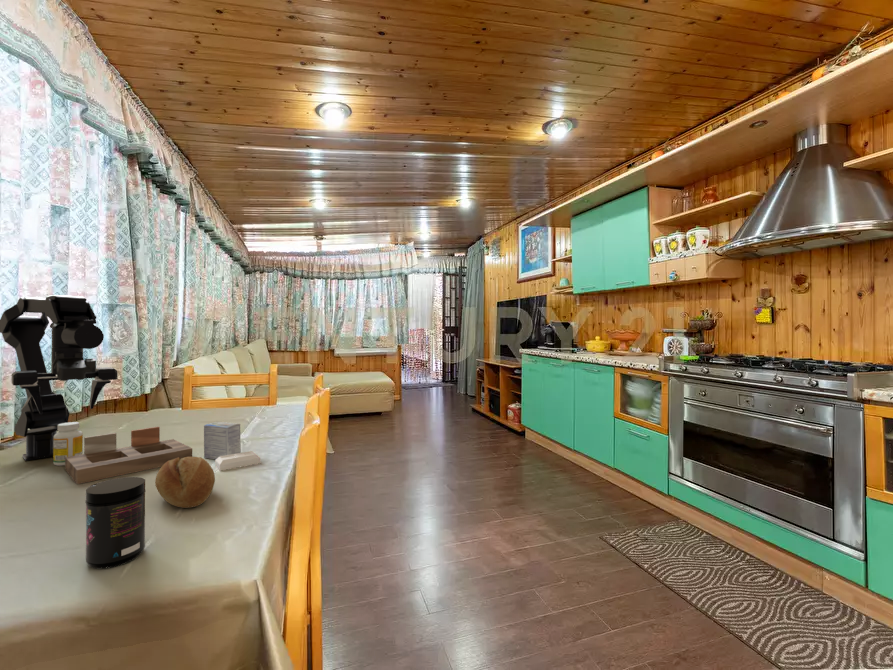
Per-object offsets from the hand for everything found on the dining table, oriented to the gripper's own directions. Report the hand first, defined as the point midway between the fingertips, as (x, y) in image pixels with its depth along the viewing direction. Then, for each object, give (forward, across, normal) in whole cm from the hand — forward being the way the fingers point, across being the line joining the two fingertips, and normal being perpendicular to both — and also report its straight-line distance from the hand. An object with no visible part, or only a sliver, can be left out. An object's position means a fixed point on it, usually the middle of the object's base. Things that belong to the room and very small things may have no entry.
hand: (67, 411), depth 102 cm
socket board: (+12, +10, -13) cm, 21 cm away
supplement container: (+12, -2, -62) cm, 64 cm away
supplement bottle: (+13, 0, +1) cm, 13 cm away
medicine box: (+12, +27, -23) cm, 38 cm away
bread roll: (+12, +12, -46) cm, 49 cm away
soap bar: (+13, +28, -32) cm, 44 cm away
